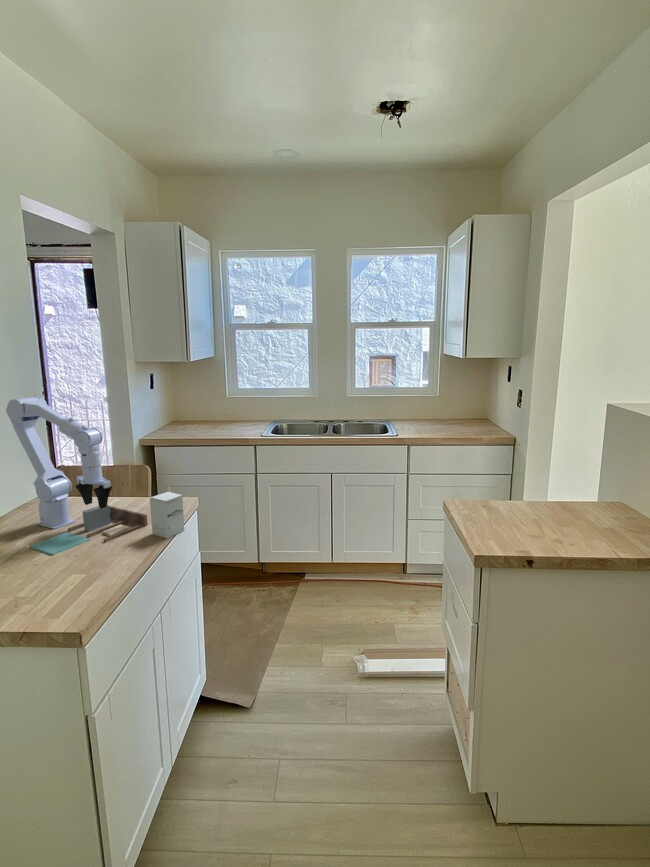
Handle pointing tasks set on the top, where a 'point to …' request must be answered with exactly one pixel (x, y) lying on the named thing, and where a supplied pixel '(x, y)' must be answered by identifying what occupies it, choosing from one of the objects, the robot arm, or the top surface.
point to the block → (96, 518)
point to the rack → (121, 515)
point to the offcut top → (115, 530)
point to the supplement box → (167, 514)
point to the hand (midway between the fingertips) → (95, 505)
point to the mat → (59, 543)
